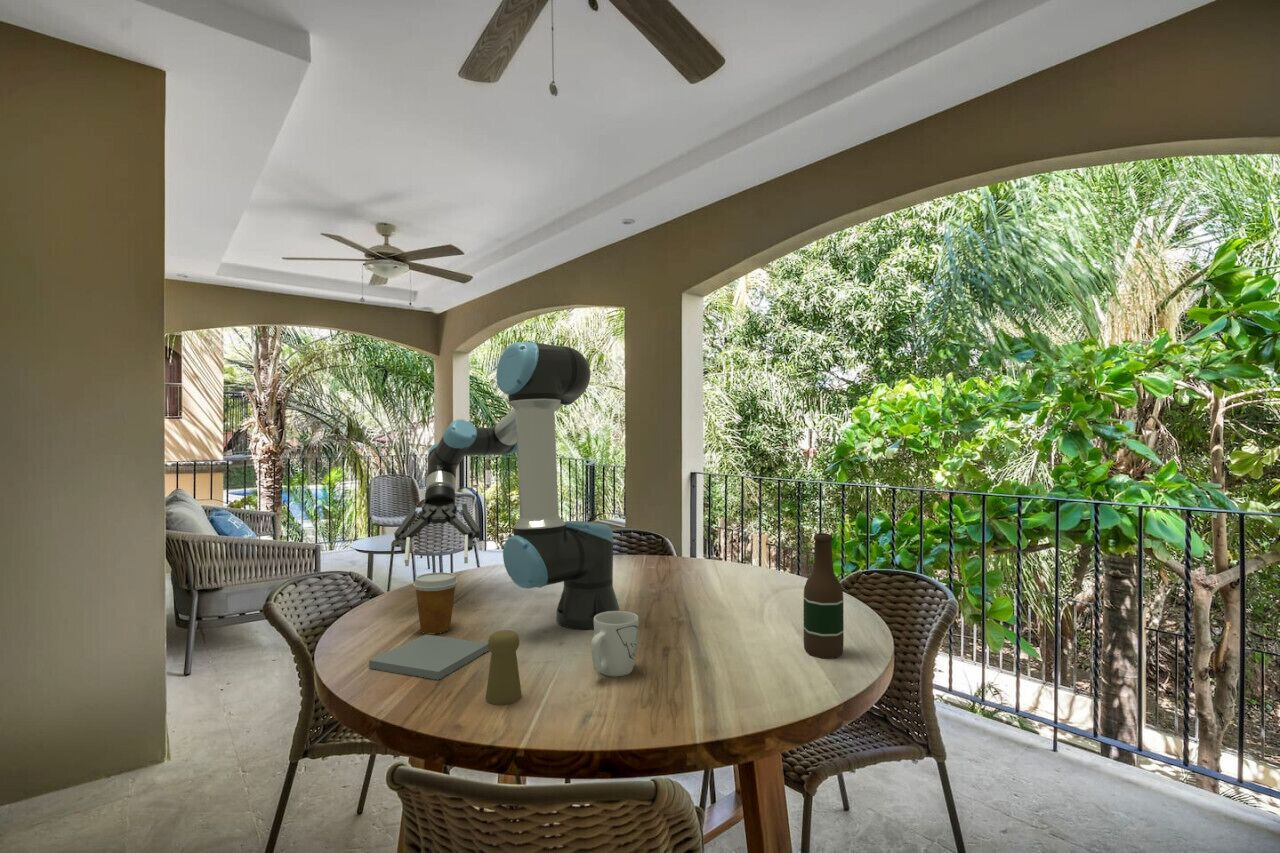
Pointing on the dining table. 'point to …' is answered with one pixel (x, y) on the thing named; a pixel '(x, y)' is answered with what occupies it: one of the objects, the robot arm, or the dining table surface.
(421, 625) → the disposable coffee cup
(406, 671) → the slate board
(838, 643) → the beer bottle
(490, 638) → the olive pawn
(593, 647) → the mug
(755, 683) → the dining table surface
